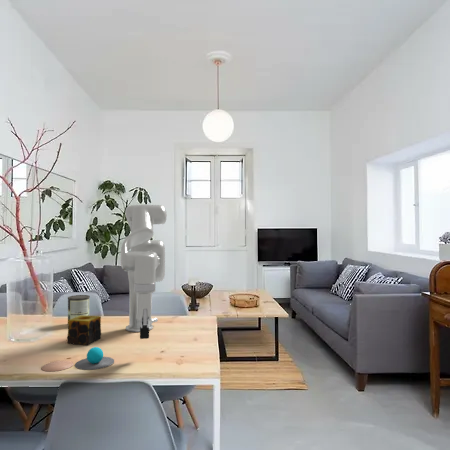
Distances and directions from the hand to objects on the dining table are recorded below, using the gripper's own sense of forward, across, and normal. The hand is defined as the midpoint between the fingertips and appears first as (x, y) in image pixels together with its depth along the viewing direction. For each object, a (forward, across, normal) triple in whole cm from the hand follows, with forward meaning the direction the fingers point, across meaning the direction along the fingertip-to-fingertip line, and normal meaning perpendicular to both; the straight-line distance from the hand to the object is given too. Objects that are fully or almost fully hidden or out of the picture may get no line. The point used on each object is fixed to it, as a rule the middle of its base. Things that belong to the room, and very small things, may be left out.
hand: (144, 337), depth 135 cm
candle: (+9, -28, -24) cm, 38 cm away
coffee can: (+10, -60, -30) cm, 68 cm away
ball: (+5, +1, -17) cm, 18 cm away
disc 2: (+7, +1, -17) cm, 19 cm away
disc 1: (+7, +1, -29) cm, 30 cm away
